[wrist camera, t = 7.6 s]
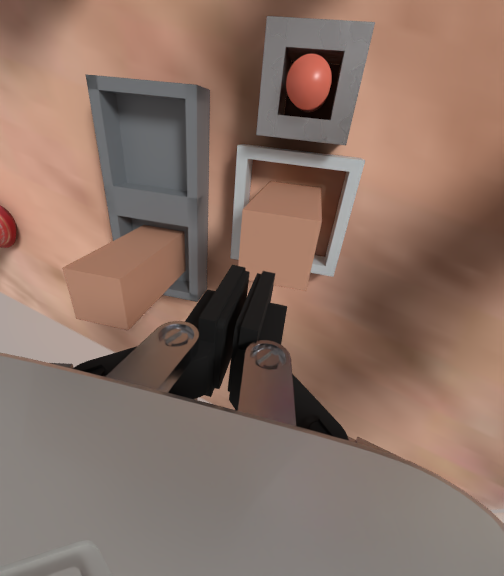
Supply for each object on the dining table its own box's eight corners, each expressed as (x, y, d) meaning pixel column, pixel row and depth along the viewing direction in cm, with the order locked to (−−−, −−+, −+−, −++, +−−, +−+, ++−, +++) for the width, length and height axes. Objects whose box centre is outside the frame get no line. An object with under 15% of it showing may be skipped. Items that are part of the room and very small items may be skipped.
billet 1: (143, 224, 32) (62, 267, 22) (184, 231, 32) (119, 279, 21) (147, 263, 35) (76, 318, 25) (185, 270, 34) (128, 330, 24)
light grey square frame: (243, 143, 27) (237, 144, 25) (361, 158, 25) (365, 160, 23) (236, 250, 32) (230, 258, 30) (332, 266, 31) (333, 276, 29)
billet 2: (270, 180, 28) (242, 209, 18) (320, 187, 27) (321, 221, 17) (264, 229, 30) (237, 278, 20) (310, 236, 30) (306, 291, 20)
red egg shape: (295, 65, 22) (289, 51, 18) (333, 68, 22) (336, 55, 18) (288, 110, 24) (283, 106, 20) (324, 114, 23) (325, 110, 19)
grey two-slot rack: (109, 80, 27) (85, 74, 24) (209, 89, 25) (196, 84, 22) (135, 274, 37) (120, 286, 34) (206, 288, 36) (197, 301, 33)
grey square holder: (275, 35, 22) (267, 16, 19) (365, 41, 22) (375, 22, 18) (265, 134, 26) (256, 134, 22) (341, 143, 25) (345, 145, 21)
